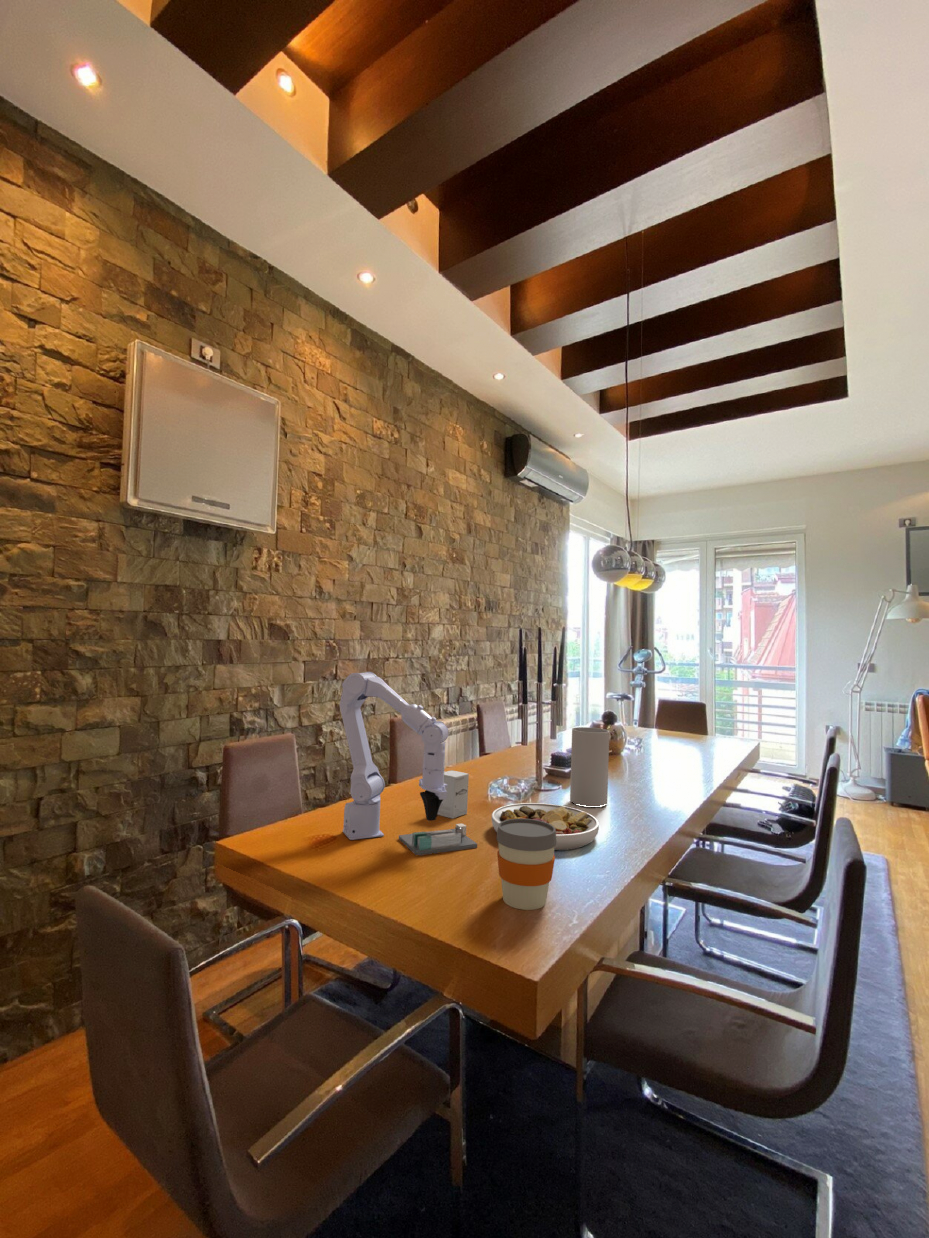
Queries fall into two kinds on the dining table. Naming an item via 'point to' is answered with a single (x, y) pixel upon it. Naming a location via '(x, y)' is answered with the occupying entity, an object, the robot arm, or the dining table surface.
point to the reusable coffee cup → (525, 861)
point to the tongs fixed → (440, 840)
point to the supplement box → (455, 794)
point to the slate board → (465, 844)
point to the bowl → (554, 822)
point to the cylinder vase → (589, 766)
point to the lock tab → (463, 827)
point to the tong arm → (417, 834)
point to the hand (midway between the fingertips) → (431, 819)
